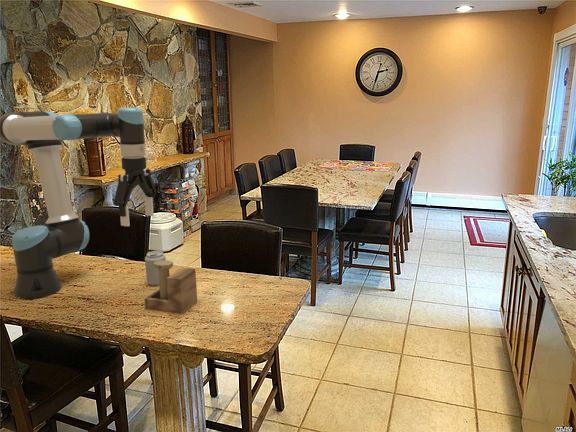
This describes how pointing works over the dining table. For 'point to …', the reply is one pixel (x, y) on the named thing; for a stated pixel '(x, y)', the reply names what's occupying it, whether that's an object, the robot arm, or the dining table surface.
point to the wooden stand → (176, 293)
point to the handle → (163, 276)
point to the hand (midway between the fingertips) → (137, 220)
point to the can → (151, 271)
